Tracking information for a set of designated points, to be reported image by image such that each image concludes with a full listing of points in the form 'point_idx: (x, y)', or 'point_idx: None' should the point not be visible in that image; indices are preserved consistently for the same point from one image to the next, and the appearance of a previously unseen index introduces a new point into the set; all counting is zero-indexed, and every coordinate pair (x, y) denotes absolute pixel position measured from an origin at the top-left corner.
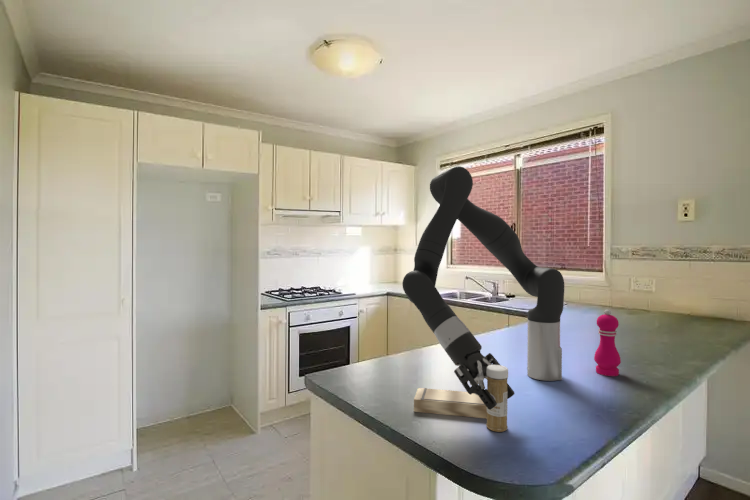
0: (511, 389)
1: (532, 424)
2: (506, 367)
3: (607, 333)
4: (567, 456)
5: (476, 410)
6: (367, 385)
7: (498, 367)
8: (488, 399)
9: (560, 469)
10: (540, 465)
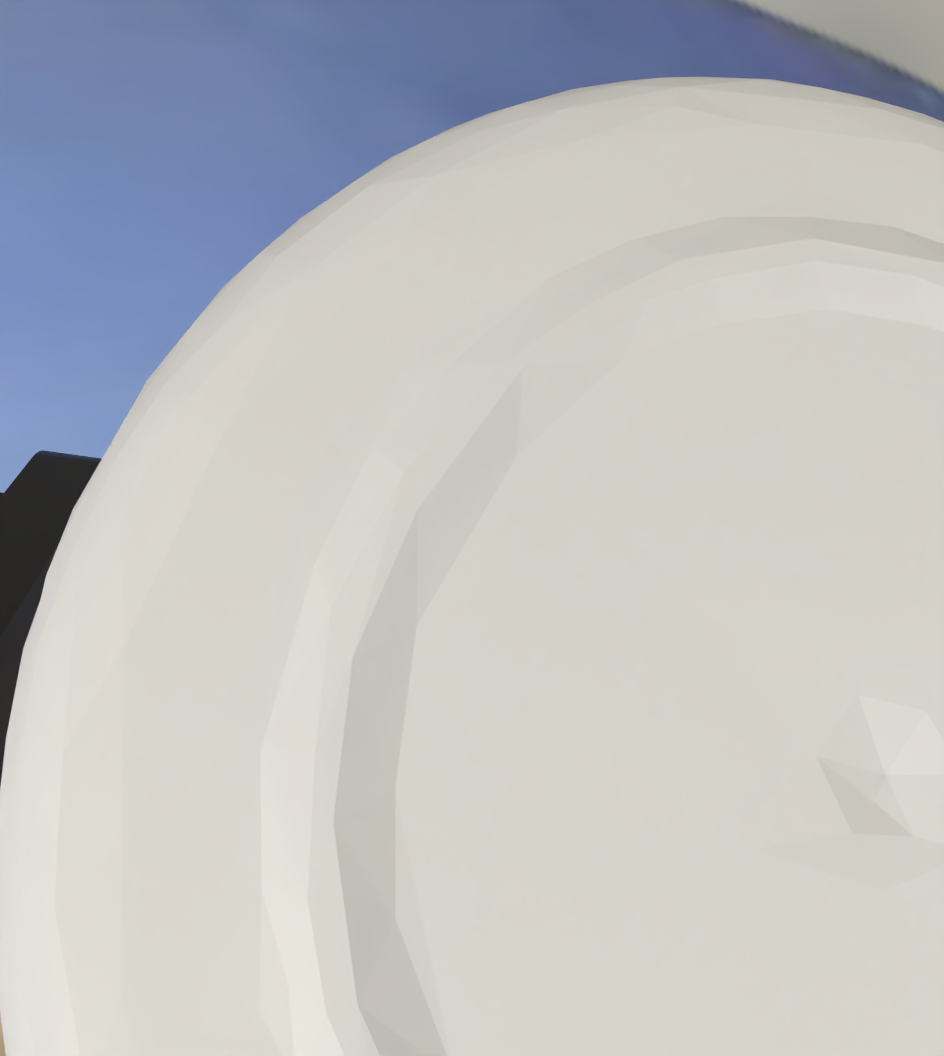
0: (40, 494)
1: (55, 372)
2: (395, 193)
3: None
4: (550, 25)
5: None
6: None
7: (827, 704)
8: None
9: (762, 59)
10: None
